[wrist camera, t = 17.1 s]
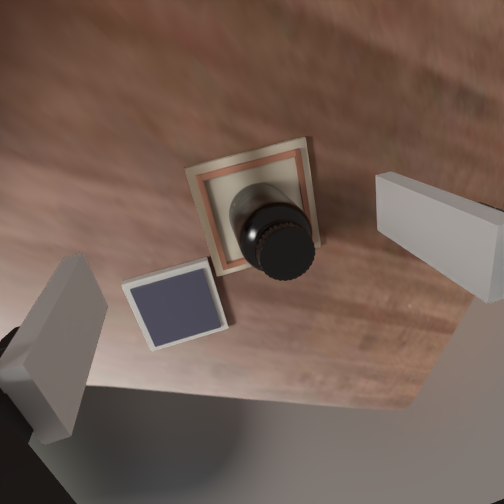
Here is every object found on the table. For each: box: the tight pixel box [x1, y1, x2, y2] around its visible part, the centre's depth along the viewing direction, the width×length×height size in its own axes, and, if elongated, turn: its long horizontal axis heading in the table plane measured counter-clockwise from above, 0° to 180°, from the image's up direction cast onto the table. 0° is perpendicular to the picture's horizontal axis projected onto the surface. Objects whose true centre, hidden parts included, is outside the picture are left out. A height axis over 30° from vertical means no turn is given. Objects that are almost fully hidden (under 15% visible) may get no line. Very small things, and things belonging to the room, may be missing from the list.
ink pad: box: [121, 257, 228, 352], centre depth 42 cm, size 10×10×1 cm
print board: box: [184, 137, 321, 277], centre depth 39 cm, size 13×13×1 cm
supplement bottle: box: [229, 183, 315, 281], centre depth 33 cm, size 7×7×12 cm
